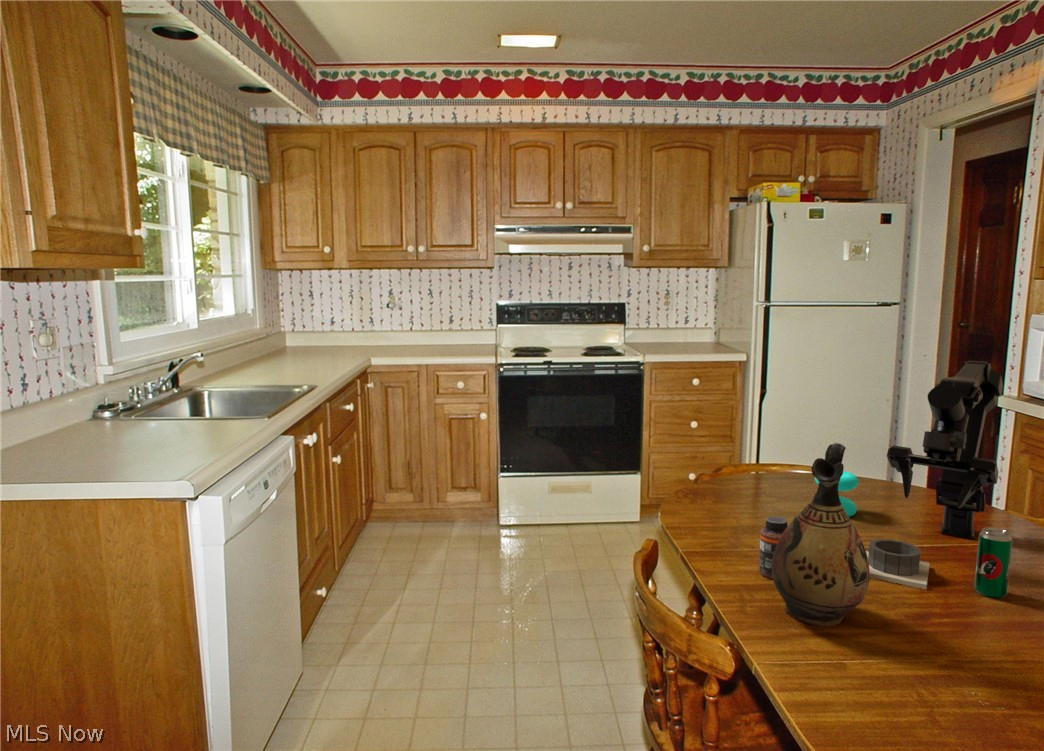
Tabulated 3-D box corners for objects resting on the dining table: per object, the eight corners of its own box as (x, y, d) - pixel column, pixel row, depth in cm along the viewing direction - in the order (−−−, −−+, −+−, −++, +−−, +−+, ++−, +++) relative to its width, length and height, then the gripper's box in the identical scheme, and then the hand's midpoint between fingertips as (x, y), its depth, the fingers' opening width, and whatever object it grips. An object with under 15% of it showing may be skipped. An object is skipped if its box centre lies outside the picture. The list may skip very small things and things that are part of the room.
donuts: (811, 475, 166) (818, 466, 174) (809, 514, 167) (816, 503, 176) (856, 481, 161) (861, 471, 169) (853, 521, 162) (858, 510, 170)
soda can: (1012, 600, 121) (1018, 537, 120) (981, 598, 122) (987, 535, 121) (998, 588, 126) (1004, 527, 125) (969, 586, 127) (974, 525, 126)
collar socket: (863, 554, 142) (864, 532, 142) (929, 567, 136) (931, 543, 135) (855, 575, 132) (857, 550, 132) (926, 589, 126) (928, 564, 125)
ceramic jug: (861, 646, 106) (874, 462, 102) (761, 621, 114) (768, 450, 110) (871, 603, 121) (882, 440, 117) (781, 583, 129) (789, 431, 125)
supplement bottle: (790, 570, 135) (792, 516, 133) (791, 582, 129) (794, 526, 128) (758, 566, 137) (760, 513, 135) (758, 578, 131) (761, 522, 130)
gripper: (890, 408, 139) (872, 475, 134) (999, 420, 126) (984, 495, 121) (900, 433, 146) (883, 498, 141) (1004, 447, 134) (990, 519, 128)
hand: (932, 502), depth 133 cm, fingers open, 9 cm apart
